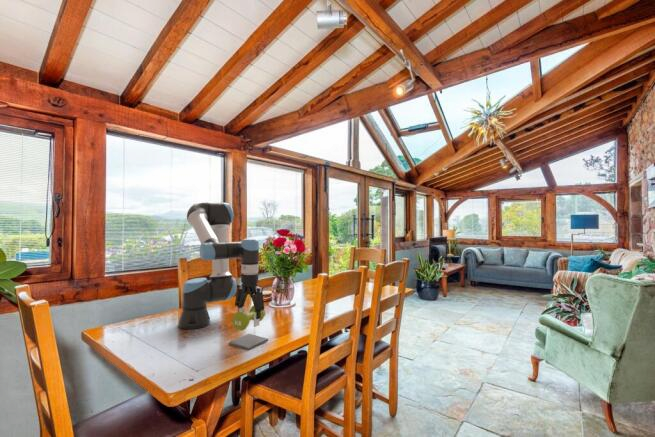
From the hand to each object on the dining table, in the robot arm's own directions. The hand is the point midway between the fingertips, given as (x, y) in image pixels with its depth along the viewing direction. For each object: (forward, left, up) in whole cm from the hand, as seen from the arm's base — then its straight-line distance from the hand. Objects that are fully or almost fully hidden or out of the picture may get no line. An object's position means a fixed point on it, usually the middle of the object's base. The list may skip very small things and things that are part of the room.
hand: (249, 323), depth 141 cm
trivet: (0, 0, -8) cm, 8 cm away
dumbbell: (0, 0, -1) cm, 1 cm away
